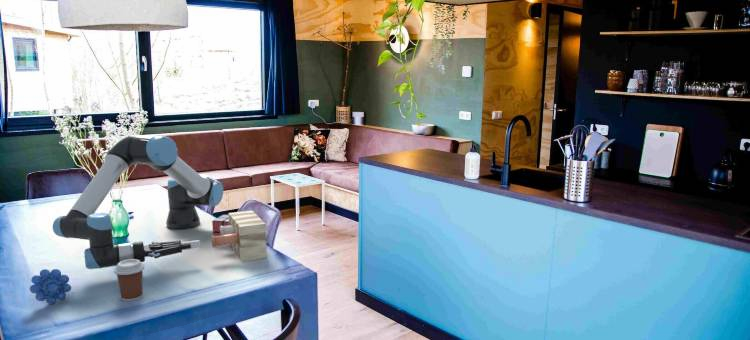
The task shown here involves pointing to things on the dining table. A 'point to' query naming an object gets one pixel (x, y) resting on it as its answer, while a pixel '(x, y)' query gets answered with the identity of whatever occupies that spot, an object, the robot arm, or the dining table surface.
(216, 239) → the terracotta plug
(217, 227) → the puzzle cube
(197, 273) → the dining table surface
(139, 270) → the coffee cup
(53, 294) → the blue lumpy lobed piece
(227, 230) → the white plug
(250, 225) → the socket block
